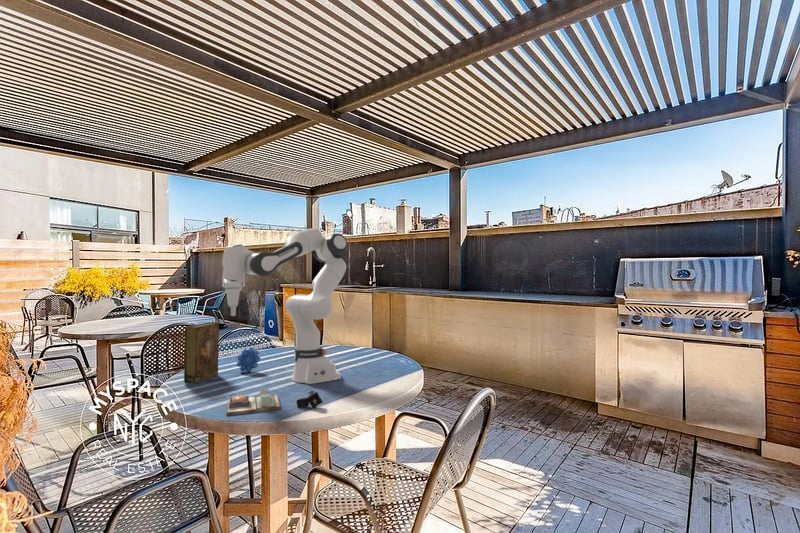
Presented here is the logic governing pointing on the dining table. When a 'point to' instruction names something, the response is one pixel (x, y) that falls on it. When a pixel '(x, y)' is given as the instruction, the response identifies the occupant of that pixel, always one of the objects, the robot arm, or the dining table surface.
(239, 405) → the picture board
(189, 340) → the book
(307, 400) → the black angular piece
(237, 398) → the button
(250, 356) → the grapes
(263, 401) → the marker
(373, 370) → the dining table surface
